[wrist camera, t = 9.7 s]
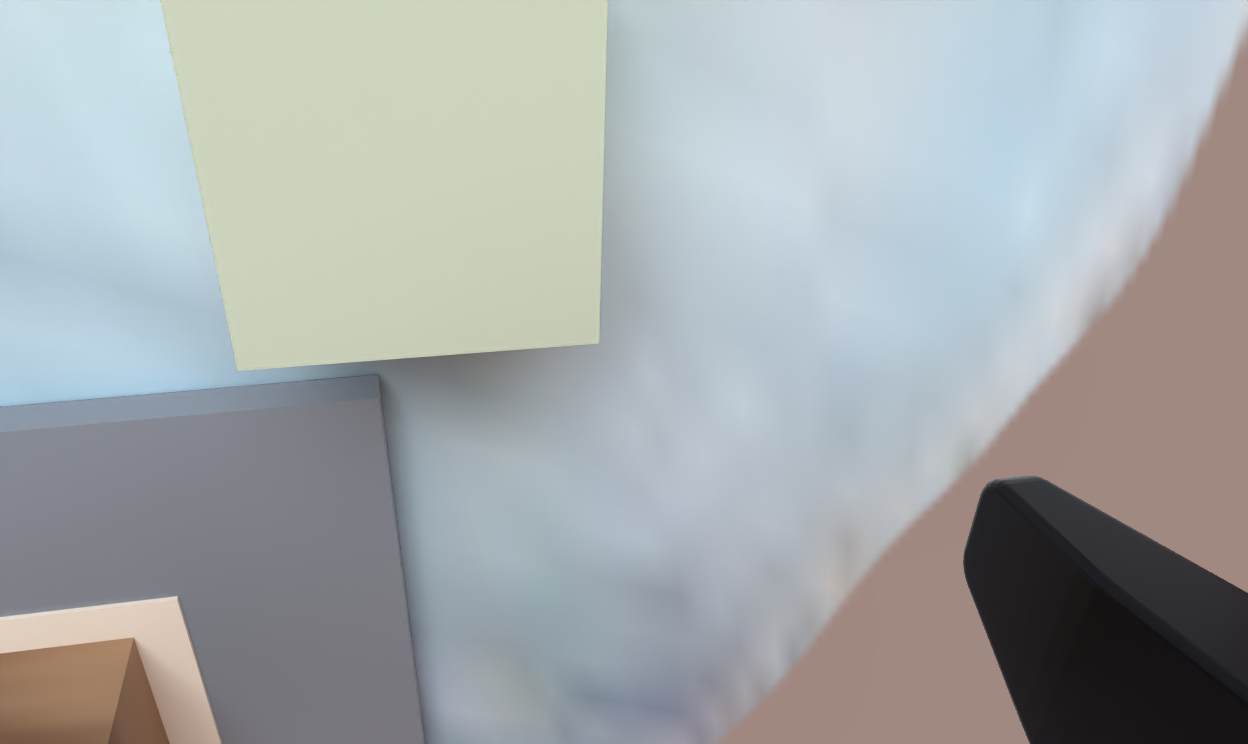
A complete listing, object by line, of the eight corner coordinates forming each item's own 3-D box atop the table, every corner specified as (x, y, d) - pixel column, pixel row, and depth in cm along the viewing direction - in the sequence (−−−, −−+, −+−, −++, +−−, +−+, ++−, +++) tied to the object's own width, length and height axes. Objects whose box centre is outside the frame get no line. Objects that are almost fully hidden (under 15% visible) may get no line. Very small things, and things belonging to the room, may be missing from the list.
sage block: (267, 211, 18) (237, 371, 14) (215, -97, 16) (158, -7, 12) (552, 197, 19) (599, 343, 15) (551, -97, 16) (608, -14, 12)
